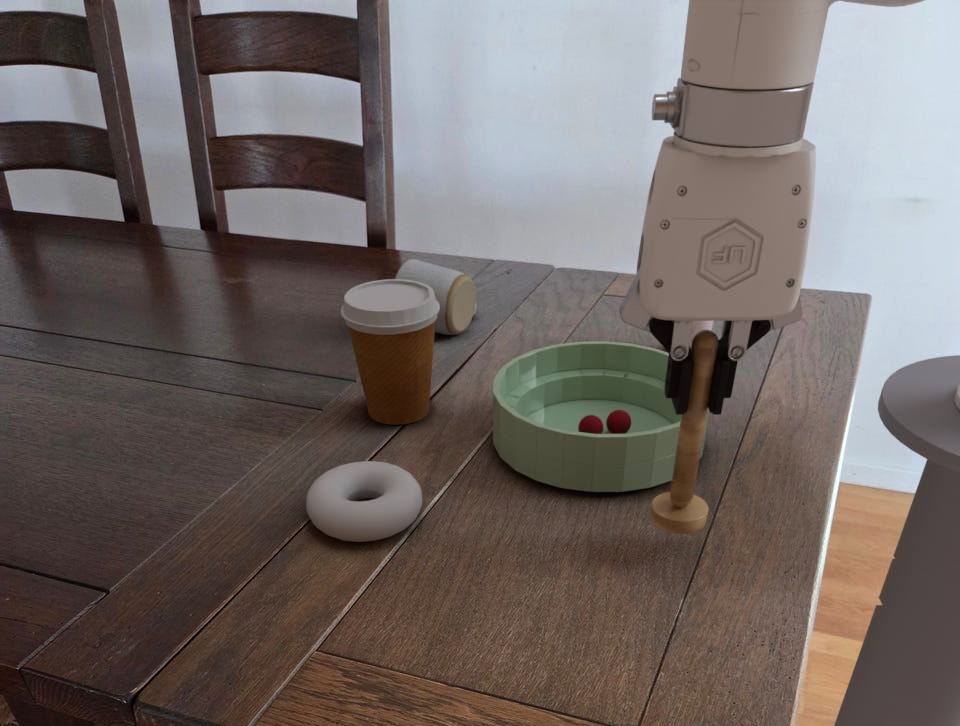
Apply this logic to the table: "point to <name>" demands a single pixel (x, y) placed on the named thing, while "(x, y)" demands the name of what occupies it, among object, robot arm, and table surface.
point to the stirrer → (689, 447)
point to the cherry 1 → (591, 425)
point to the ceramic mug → (445, 294)
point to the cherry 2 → (618, 422)
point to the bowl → (581, 392)
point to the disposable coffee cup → (393, 346)
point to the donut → (364, 520)
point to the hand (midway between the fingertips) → (695, 404)
